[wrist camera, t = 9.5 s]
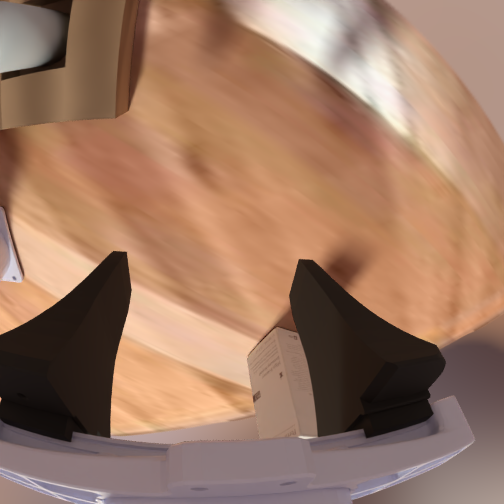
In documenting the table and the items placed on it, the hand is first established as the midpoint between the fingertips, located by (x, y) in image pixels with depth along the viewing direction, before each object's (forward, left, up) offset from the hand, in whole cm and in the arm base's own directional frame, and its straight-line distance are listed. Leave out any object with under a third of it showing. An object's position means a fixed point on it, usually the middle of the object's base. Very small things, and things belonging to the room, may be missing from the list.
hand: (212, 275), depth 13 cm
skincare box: (+8, -18, -11) cm, 22 cm away
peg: (-12, +11, -10) cm, 19 cm away
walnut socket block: (-12, +11, -10) cm, 19 cm away
